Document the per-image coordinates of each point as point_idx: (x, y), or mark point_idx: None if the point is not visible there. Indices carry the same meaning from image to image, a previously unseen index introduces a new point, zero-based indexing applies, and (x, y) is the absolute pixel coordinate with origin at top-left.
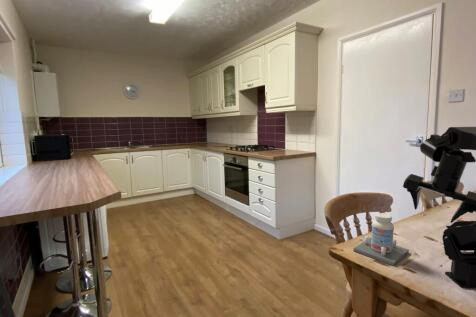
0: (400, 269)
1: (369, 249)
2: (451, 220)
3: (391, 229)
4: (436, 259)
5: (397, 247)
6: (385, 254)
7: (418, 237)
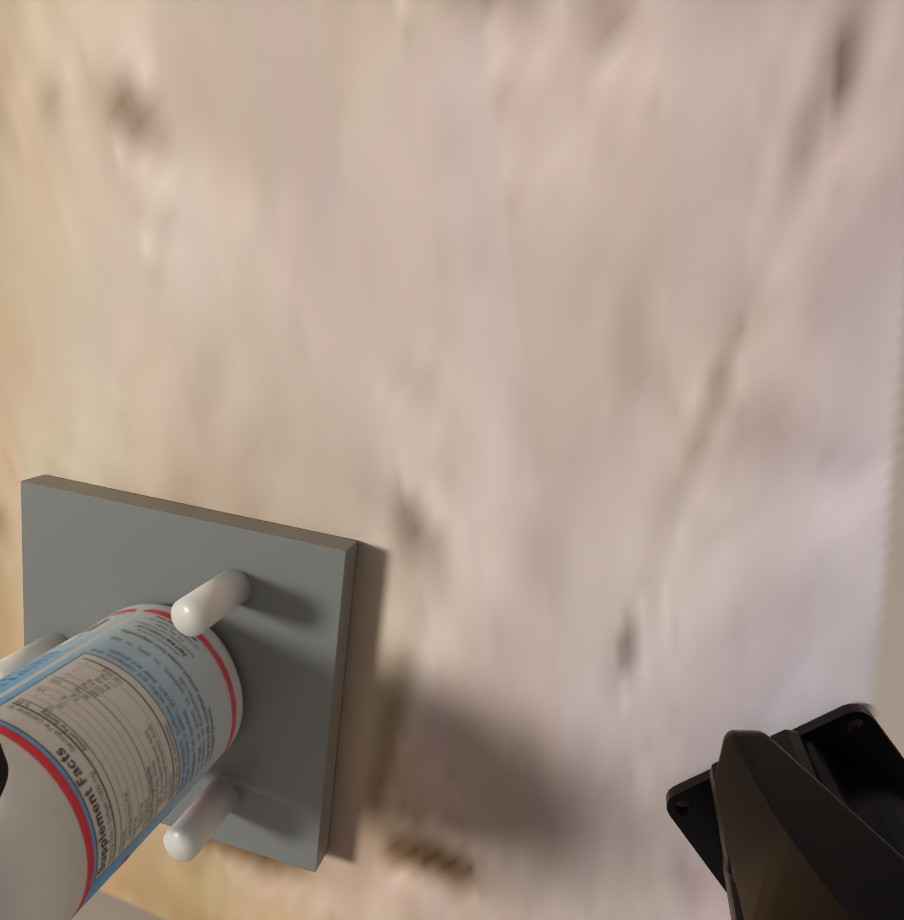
0: (379, 878)
1: None
2: (743, 883)
3: (77, 900)
4: (582, 538)
5: (257, 562)
6: (229, 805)
7: (346, 21)
